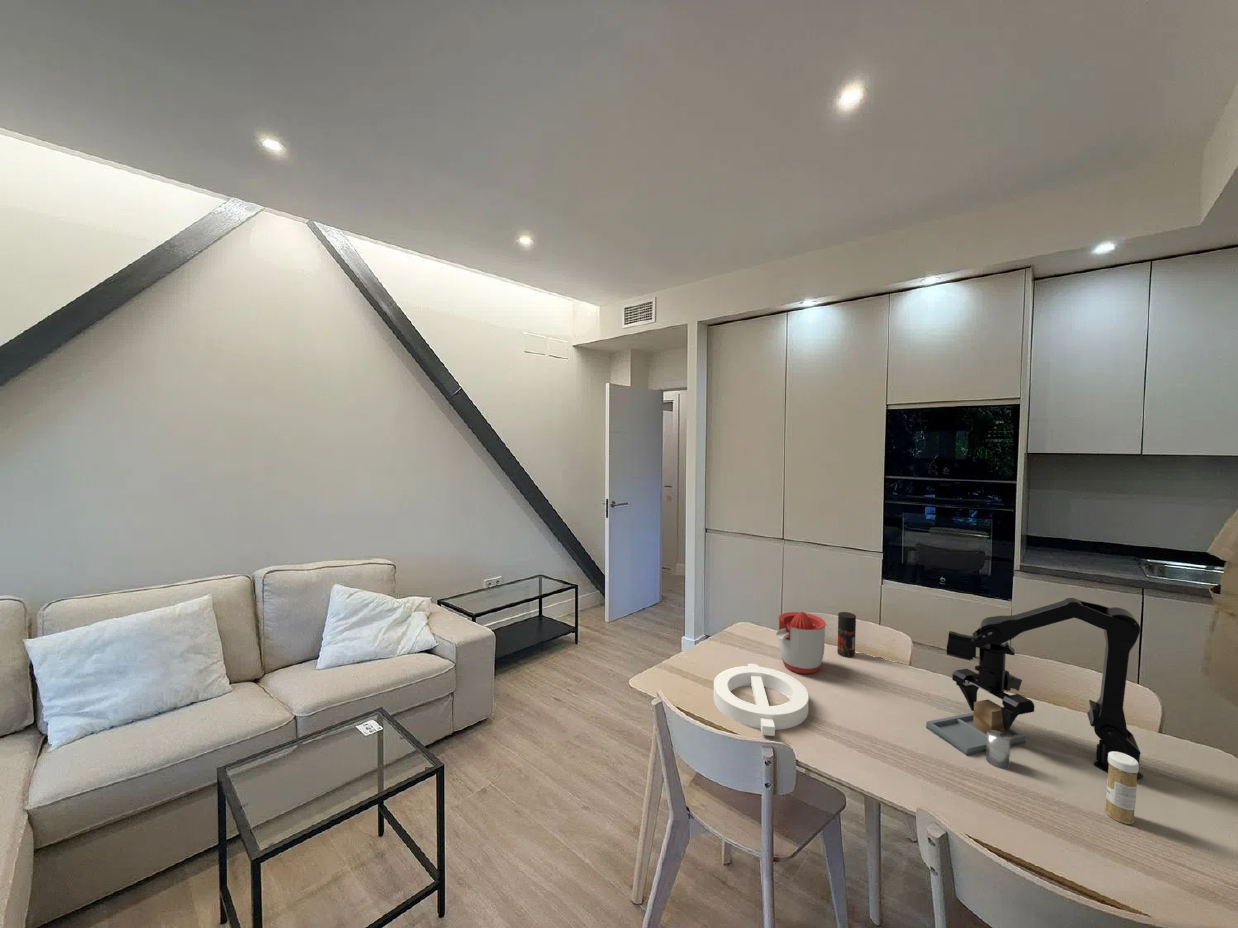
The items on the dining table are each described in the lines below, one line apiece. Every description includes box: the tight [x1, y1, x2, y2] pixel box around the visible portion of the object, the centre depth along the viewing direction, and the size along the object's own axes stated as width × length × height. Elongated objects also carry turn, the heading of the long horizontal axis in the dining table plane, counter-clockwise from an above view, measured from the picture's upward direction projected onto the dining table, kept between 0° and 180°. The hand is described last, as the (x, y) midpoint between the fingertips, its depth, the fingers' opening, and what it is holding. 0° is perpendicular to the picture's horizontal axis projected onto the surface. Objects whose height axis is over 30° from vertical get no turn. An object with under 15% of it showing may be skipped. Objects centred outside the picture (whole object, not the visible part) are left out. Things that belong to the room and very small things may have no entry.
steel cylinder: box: [985, 730, 1011, 770], centre depth 121 cm, size 5×5×7 cm
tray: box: [925, 712, 1027, 756], centre depth 132 cm, size 12×20×2 cm, turn 104°
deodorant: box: [837, 611, 857, 659], centre depth 180 cm, size 6×6×15 cm
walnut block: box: [973, 699, 1005, 734], centre depth 133 cm, size 5×5×7 cm
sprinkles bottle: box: [1104, 751, 1140, 825], centre depth 103 cm, size 5×5×13 cm
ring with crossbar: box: [713, 663, 809, 737], centre depth 149 cm, size 28×28×5 cm
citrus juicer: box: [775, 611, 827, 674], centre depth 170 cm, size 16×17×20 cm
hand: (989, 719), depth 133 cm, fingers open, 9 cm apart
